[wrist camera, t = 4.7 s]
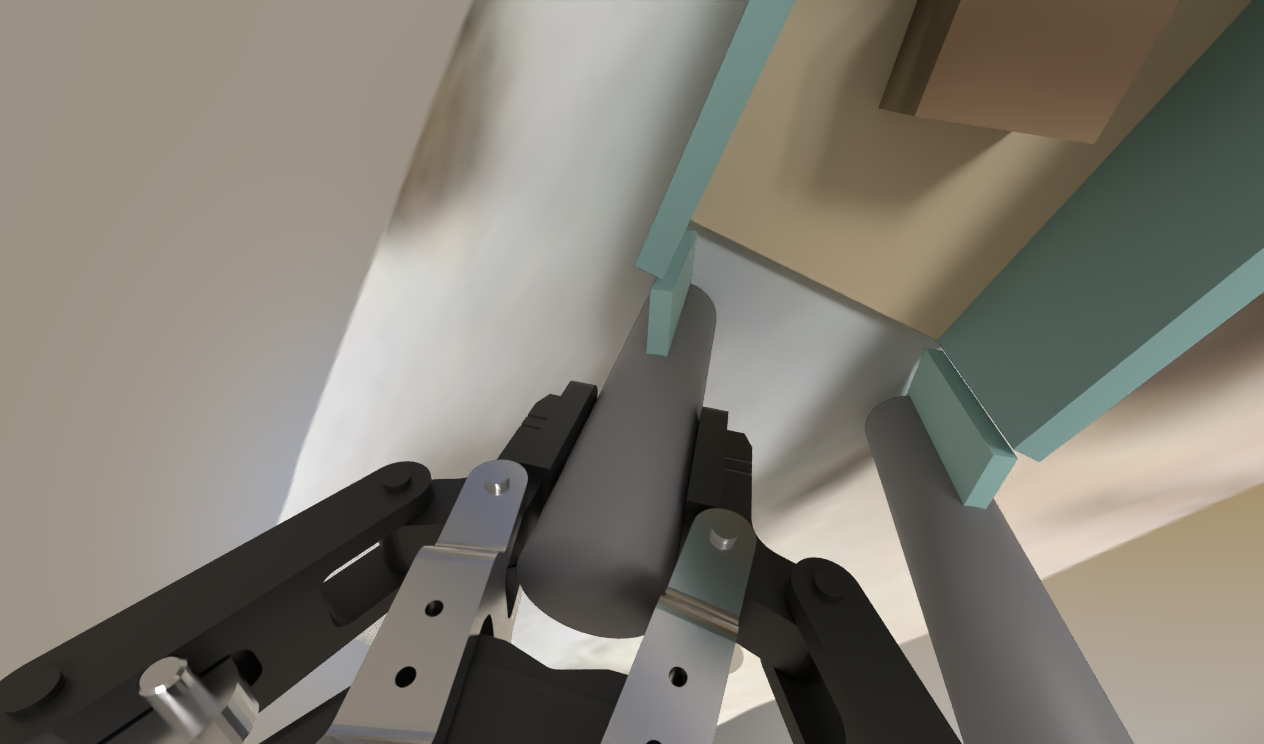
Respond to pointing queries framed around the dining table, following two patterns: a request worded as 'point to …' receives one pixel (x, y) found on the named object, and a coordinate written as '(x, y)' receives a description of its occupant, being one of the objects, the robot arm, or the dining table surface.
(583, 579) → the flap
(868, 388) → the dining table surface
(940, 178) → the teal open box
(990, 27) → the walnut block
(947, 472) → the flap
